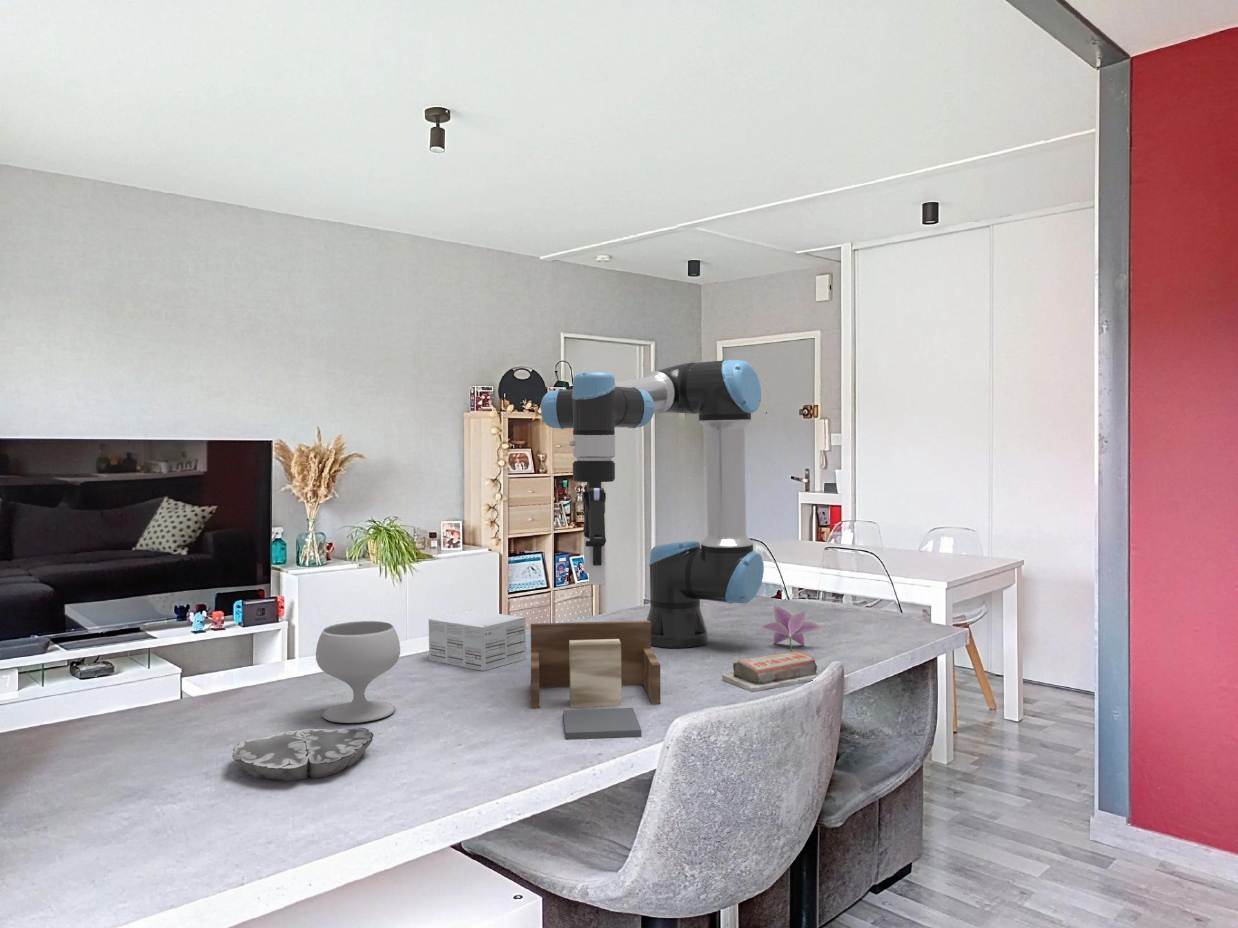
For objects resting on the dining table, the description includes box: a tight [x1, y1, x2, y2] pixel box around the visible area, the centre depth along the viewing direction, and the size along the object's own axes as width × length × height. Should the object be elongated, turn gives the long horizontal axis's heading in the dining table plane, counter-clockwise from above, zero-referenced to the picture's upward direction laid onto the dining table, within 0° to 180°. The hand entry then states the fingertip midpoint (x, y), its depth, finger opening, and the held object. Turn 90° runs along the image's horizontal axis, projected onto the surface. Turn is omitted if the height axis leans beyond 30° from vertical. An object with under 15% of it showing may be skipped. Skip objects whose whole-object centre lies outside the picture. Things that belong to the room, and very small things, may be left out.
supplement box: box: [428, 609, 527, 672], centre depth 192 cm, size 17×13×9 cm
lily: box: [761, 605, 822, 652], centre depth 200 cm, size 12×12×10 cm
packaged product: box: [721, 651, 820, 693], centre depth 174 cm, size 18×5×10 cm
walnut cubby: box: [530, 620, 662, 709], centre depth 165 cm, size 14×23×12 cm, turn 95°
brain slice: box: [232, 727, 375, 782], centre depth 129 cm, size 20×17×3 cm
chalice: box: [315, 620, 401, 724], centre depth 153 cm, size 14×14×15 cm
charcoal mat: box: [562, 707, 642, 740], centre depth 147 cm, size 12×12×1 cm
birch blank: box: [569, 639, 622, 708], centre depth 159 cm, size 4×9×11 cm, turn 95°
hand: (594, 578), depth 159 cm, fingers open, 13 cm apart
